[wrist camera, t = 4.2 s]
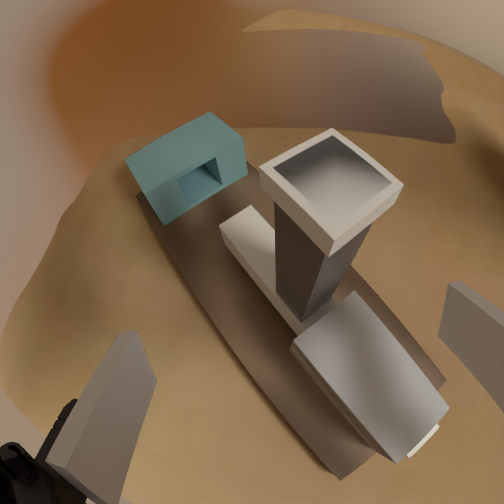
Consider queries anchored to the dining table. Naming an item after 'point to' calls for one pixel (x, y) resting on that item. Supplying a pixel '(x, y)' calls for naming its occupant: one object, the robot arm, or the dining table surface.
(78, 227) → the dining table surface
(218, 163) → the socket
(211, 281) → the long brown base plank
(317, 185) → the tube
